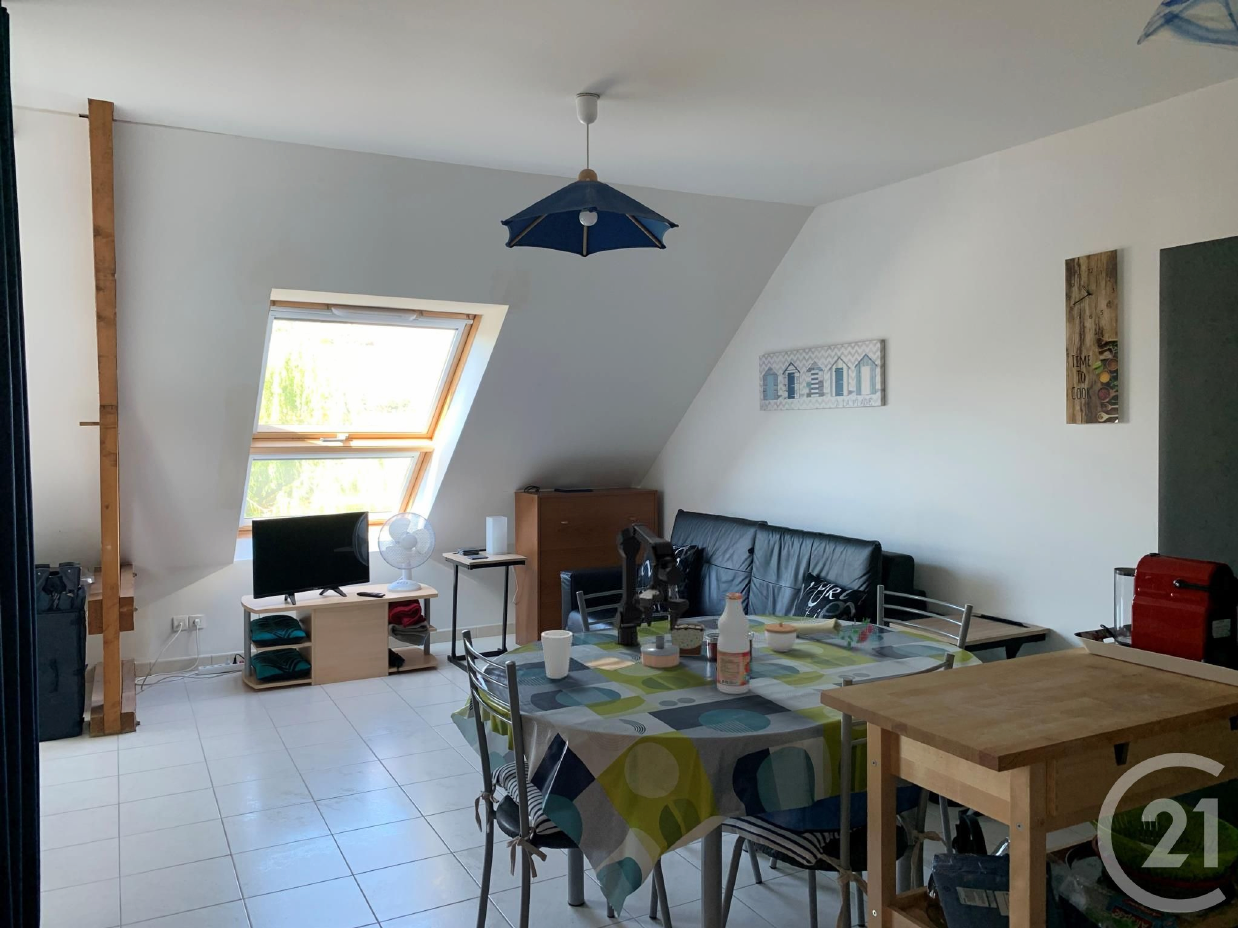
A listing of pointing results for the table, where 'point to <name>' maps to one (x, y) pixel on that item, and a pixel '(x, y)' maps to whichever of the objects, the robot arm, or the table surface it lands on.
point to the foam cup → (556, 652)
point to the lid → (660, 648)
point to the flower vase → (833, 630)
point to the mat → (609, 663)
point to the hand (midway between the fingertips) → (660, 628)
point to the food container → (688, 638)
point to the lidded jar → (780, 636)
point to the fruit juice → (733, 648)
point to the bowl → (660, 660)
